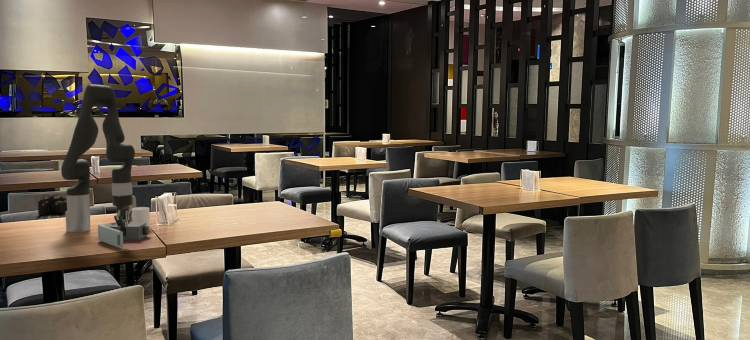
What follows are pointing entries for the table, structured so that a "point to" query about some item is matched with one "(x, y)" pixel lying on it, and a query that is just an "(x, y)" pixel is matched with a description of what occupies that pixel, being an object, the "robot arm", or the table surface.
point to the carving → (133, 205)
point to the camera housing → (132, 230)
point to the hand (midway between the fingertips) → (124, 235)
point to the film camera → (52, 205)
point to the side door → (110, 236)
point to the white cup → (140, 215)
